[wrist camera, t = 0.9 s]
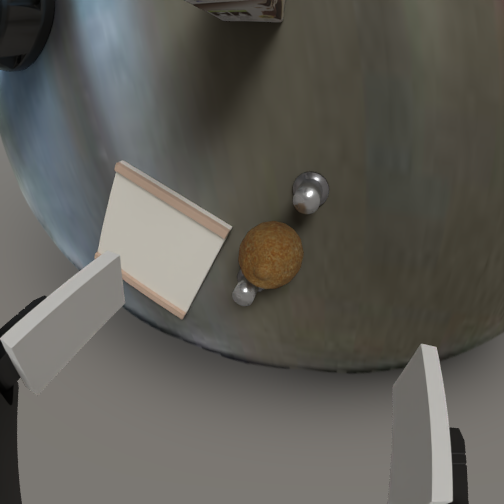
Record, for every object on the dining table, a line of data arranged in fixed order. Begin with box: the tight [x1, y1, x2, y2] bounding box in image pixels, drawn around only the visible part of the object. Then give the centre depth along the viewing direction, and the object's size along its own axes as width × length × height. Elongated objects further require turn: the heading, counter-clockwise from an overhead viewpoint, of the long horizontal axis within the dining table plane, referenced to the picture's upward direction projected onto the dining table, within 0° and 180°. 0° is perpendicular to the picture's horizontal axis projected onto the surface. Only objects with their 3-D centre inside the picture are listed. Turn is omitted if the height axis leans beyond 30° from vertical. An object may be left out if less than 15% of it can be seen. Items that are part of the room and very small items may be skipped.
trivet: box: [95, 161, 232, 319], centre depth 39 cm, size 16×16×1 cm
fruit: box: [238, 221, 304, 289], centre depth 31 cm, size 6×6×8 cm
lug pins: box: [232, 172, 329, 306], centre depth 33 cm, size 4×17×4 cm, turn 152°
